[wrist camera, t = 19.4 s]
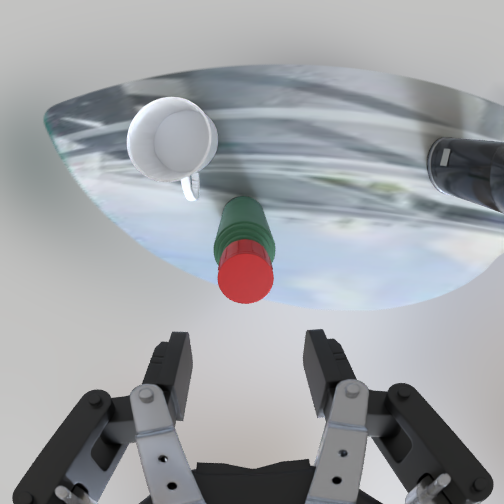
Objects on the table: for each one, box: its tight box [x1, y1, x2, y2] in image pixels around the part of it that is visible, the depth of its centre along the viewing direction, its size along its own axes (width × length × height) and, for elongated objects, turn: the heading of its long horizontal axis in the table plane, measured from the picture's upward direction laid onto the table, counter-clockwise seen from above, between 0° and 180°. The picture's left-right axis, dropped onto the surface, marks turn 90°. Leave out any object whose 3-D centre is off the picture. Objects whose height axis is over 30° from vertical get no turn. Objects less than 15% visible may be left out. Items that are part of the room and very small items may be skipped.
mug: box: [127, 97, 218, 201], centre depth 32 cm, size 12×9×9 cm
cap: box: [218, 239, 274, 304], centre depth 22 cm, size 4×4×3 cm
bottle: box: [214, 196, 275, 266], centre depth 30 cm, size 6×6×20 cm
